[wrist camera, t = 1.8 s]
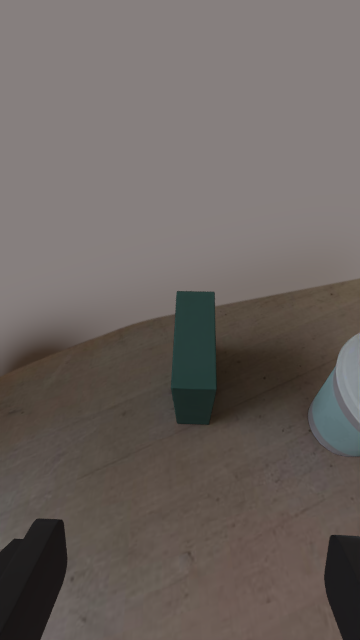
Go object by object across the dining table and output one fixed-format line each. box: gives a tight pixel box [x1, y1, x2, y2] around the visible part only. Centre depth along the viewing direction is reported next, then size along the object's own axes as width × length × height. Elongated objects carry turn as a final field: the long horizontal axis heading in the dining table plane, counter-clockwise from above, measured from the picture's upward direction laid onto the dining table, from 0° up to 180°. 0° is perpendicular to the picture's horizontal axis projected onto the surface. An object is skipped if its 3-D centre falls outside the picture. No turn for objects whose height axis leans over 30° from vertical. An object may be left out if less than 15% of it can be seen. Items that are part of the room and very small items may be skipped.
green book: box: [171, 291, 217, 425], centre depth 26 cm, size 3×8×10 cm, turn 178°
